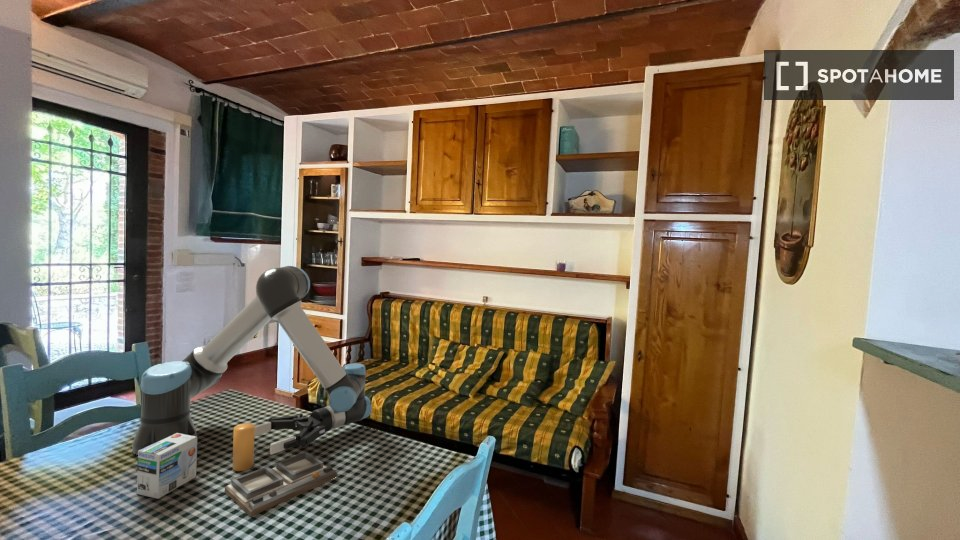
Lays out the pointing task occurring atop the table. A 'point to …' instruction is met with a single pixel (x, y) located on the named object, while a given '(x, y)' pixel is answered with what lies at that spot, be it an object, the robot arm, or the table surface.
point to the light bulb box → (166, 465)
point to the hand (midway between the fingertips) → (258, 441)
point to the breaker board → (278, 482)
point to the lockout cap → (243, 446)
